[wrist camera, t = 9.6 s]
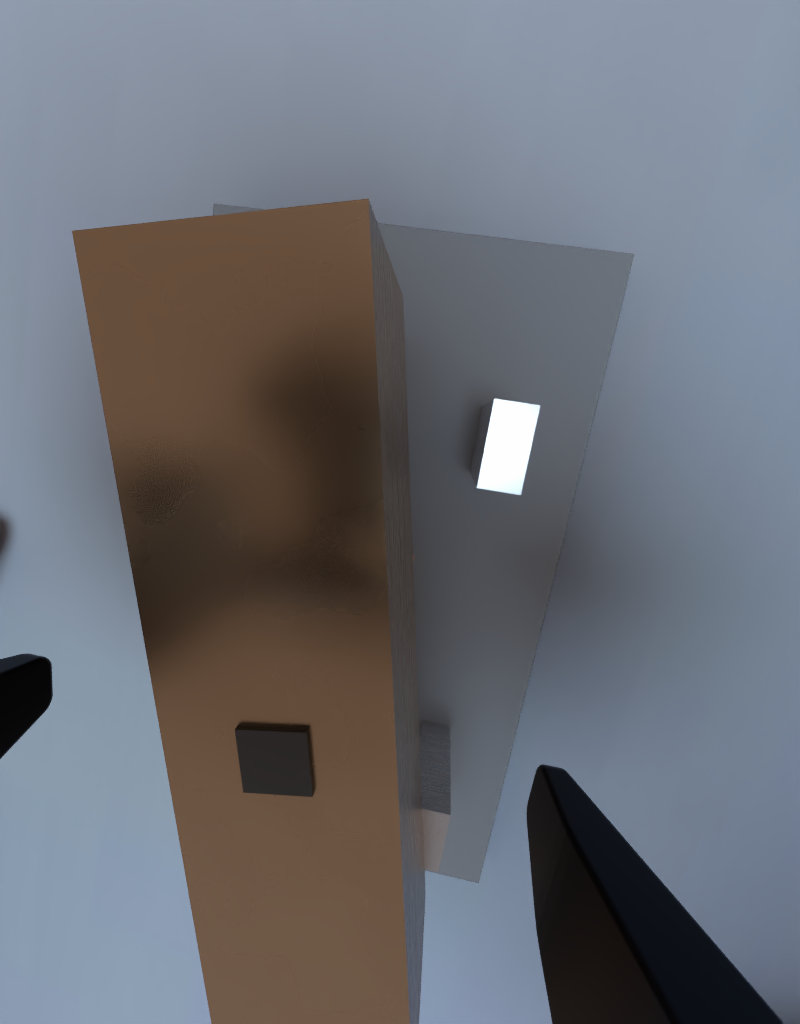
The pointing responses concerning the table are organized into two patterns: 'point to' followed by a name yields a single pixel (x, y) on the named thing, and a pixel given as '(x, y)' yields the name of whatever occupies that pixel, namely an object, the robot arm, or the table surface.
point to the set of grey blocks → (495, 469)
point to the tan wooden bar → (275, 592)
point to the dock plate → (486, 513)
